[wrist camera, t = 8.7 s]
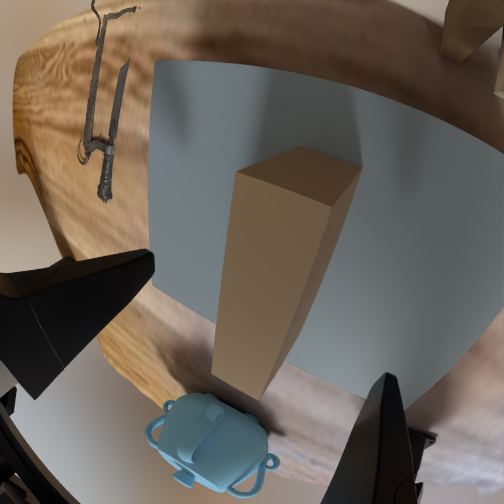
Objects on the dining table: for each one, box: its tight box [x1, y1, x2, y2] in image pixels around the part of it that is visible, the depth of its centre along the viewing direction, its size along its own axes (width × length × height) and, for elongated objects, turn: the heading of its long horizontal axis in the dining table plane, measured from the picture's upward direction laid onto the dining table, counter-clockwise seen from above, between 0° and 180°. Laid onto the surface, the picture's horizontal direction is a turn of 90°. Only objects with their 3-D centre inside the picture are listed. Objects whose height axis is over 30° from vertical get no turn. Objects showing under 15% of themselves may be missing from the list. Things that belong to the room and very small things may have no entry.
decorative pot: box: [145, 393, 280, 498], centre depth 34 cm, size 16×16×14 cm
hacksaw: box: [77, 0, 140, 203], centre depth 22 cm, size 24×10×2 cm, turn 159°
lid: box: [148, 60, 504, 411], centre depth 11 cm, size 14×18×7 cm
